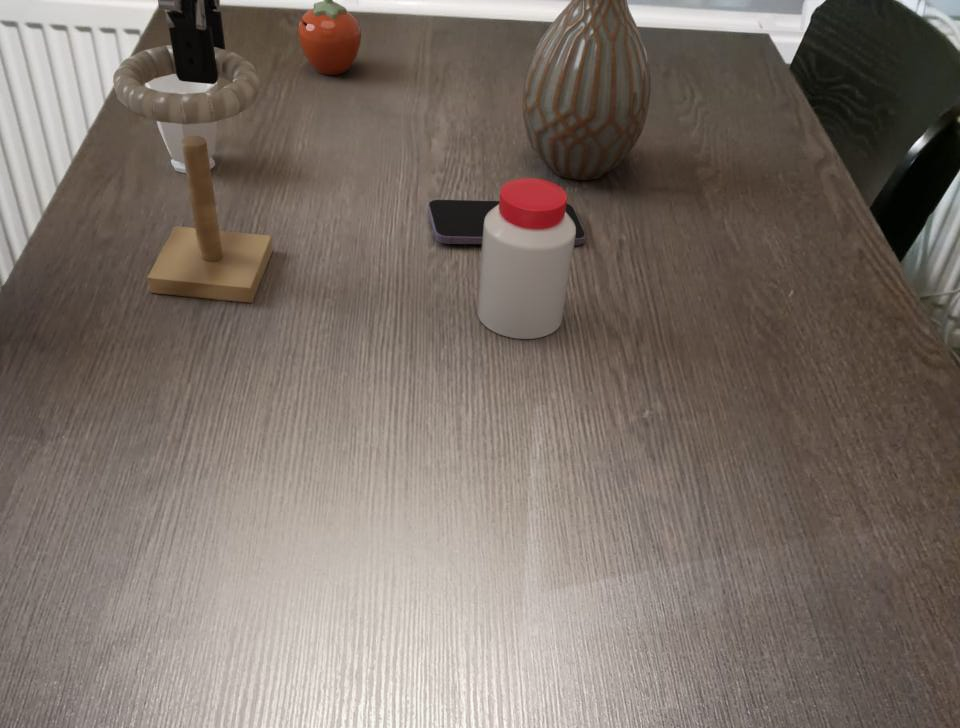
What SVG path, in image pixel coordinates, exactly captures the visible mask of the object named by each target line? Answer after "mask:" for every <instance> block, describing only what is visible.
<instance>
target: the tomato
mask: <svg viewBox="0 0 960 728" xmlns="http://www.w3.org/2000/svg"><path fill="white" fill-rule="evenodd" d="M297 35H298V40H299V44H300V47H301V49H302V52H303V53H304V54H303V55H304V56H305V58H306V60H307V61H308V63H309V65H311V66H312V68H314V70H315V71H316V72H318V73H319V74H322V75H326V76H337V75H341V74H344V73H346V72H347V71H348V70H349V69H350V68H351V67H352V65H353V64H354V62H355V61H356V59H357V56H358V53H359V50H360V46H361V41H362V32H361V26H360V25H359V22H358V20H357V18H356V17H355V16H354V15H353V14H352V13H350V11H348V10H347V8H346V7H345V6H343V5H342V4H339V3H337V2H336V1H334V0H322V1H317V2H314V3H313V8H311V9H308V10H307V11H306V12H305V13H304V14H303V15H302V16H301V18H300V21H299V23H298V26H297Z"/></svg>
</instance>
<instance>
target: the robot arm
mask: <svg viewBox="0 0 960 728" xmlns="http://www.w3.org/2000/svg"><path fill="white" fill-rule="evenodd" d="M157 3H158V8H159V10H161V11H163V12H165V13H164V14H165V19H166V24H167V27H168V32H169V37H170V45H172V50H173V56H174V62H175V68H176V74H177V77H178V79H179V80H180V81H185V82H195V83H206V84H215V83H216V82H218V81H219V77H218V73H217V66H216V58H215V51H214V47H217V48H220V49H224V50H227V49H226V42H225V36H224V27H223V19H222V18H223V17H222V12H221V11H219V10H220V8H221V1H220V0H157Z"/></svg>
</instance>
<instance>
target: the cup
mask: <svg viewBox="0 0 960 728" xmlns="http://www.w3.org/2000/svg"><path fill="white" fill-rule="evenodd" d="M144 86H145V87H147V88H150V89H153V90H156V91H159V92H167V93H177V94H190V93H204V92H208V91H212V90H216V89H218V88H219V87H218V86H219V85H218V81H216V83H215V84H206V83H195V82H185V81H180V80H179V79H178V77H177V74H171V75H167V76H163V77H159V78H155V79H153V80H151V81H149V82H147V83H145V84H144ZM156 124H157V127H158V131H159V133H160V135H161V137H162V140H163V141H164V142H163V143H164V144H165V145H164V146H165V147H166V149H167V152H168V153H169V155H170V156H171V158H172V159H170V162H171V165H172V167H173V168H174V170H175V172H177V173H178V172H179V173H183V174H186V169H185V163H184V156H183V150H182V144H181V140H182V139H183V138H184V137H187V136H201V137H203V138H205V139H206V142H207V149H208V156H209V163H210V170H212V169H213V168H214V167H215V166H216V162H215V160H214V158H213V156H214V155H215V153H216V147H217V146H216V145H217V137H218V121H215V122H211V123H198V124H177V123H167V122H159V121H156Z"/></svg>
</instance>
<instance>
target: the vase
mask: <svg viewBox="0 0 960 728" xmlns="http://www.w3.org/2000/svg"><path fill="white" fill-rule="evenodd" d="M646 48H647V47H646V46H645V43H644V39H643V37H642V35H641V33H640V30H639V27H638V25H637V23H636V21H635V19H634V16H633V15H632V13H631V11H630V8H629V4H628V0H570V2H569V3H568V4H567V5H566V6H565V8H564V9H563V10H562V11H561V12H560V13H559V14H558V15H557V17H556V18H555V19H554V20H553V22H552V23H551V24H550V25H549V27H548V28H547V29H546V31H545V32H544V34H543V35H542V37H540V40H539V42H538V43H537V45H536V47H535V49H534V51H533V53H532V56H531V58H530V61H529V64H528V67H527V70H526V74H525V78H524V85H523V93H522V118H523V124H524V129H525V132H526V136H527V139H528V142H529V143H530V146H531V148H532V150H533V151H534V153H535V154H536V156H537V157H538V158H539V159H540V161H542V163H543V164H544V166H545V167H546V168H547V169H548V170H549V171H551V172H552V173H553V174H555V175H556V176H559V177H561V178H564V179H569V180H575V181H589V180H588V179H591V180H594V179H593V178H595V179H598V178H600V176H601V177H603V176H604V175H605V174H607V173H609V172H610V171H611V170H613V169H615V168H616V167H617V166H619V165H620V164H621V163H622V162H623V161H625V159H626V158H627V157H628V156H629V154H630V153H631V152H632V150H633V149H634V147H635V146H636V144H637V143H638V141H639V138H640V137H641V135H642V133H643V130H644V127H645V125H646V120H647V116H648V113H649V108H650V101H651V92H652V77H651V67H650V60H649V57H648V52H647V49H646ZM597 177H598V178H597Z"/></svg>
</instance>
